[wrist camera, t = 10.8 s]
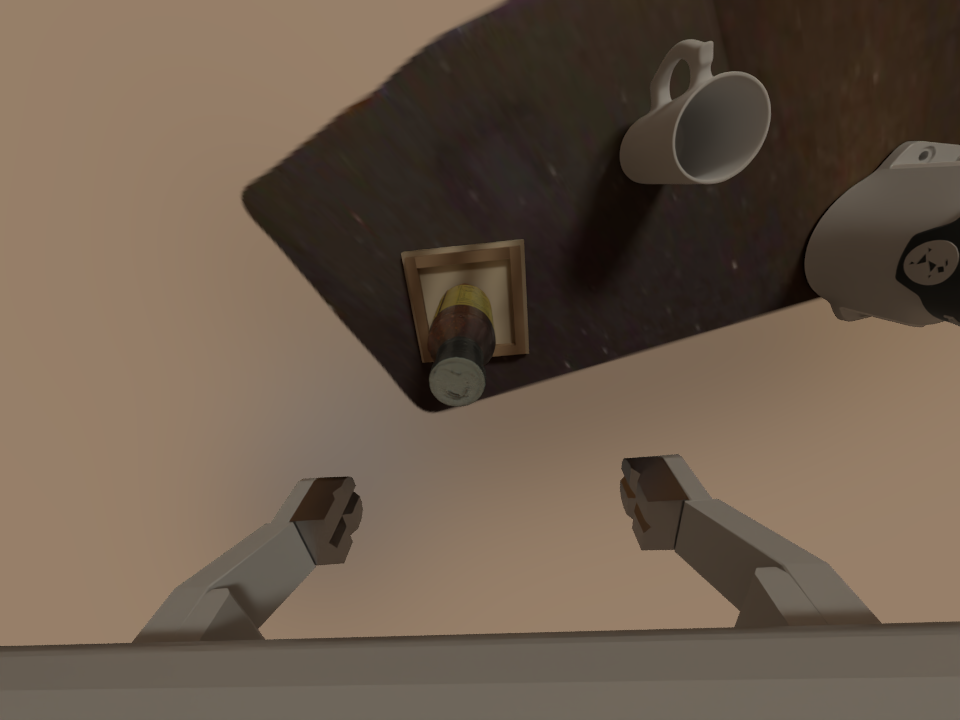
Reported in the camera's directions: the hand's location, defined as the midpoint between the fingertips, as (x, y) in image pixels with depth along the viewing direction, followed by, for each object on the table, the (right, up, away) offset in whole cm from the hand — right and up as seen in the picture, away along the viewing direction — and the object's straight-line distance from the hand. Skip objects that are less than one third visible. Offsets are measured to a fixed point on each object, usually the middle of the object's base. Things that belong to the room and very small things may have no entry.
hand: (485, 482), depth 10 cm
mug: (+17, +27, +25) cm, 40 cm away
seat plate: (-1, +11, +32) cm, 34 cm away
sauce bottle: (-2, +10, +32) cm, 33 cm away
